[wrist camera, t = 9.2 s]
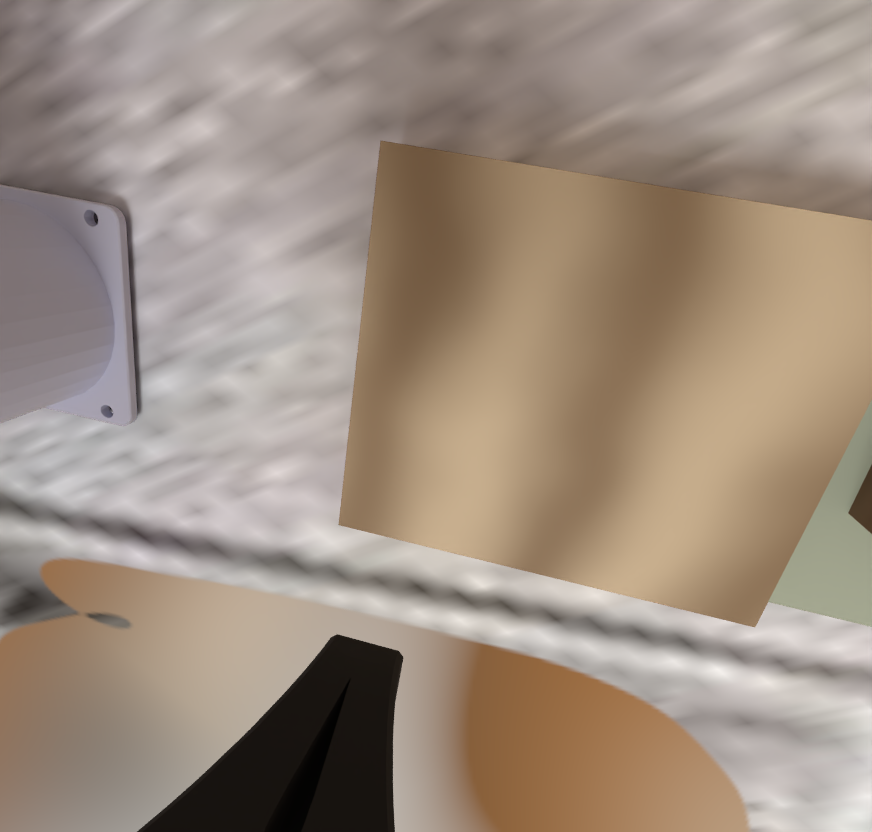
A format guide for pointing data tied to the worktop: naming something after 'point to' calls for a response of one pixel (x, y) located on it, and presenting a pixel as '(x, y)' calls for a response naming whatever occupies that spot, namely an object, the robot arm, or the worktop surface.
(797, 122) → the worktop surface
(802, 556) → the sage mat
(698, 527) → the birch board
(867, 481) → the walnut block
